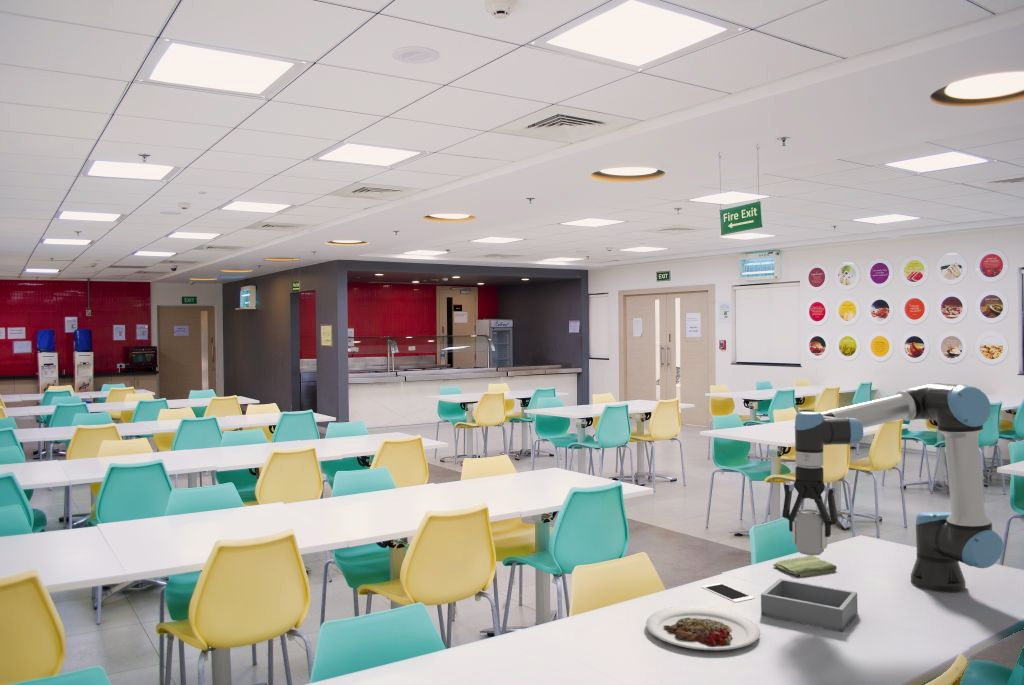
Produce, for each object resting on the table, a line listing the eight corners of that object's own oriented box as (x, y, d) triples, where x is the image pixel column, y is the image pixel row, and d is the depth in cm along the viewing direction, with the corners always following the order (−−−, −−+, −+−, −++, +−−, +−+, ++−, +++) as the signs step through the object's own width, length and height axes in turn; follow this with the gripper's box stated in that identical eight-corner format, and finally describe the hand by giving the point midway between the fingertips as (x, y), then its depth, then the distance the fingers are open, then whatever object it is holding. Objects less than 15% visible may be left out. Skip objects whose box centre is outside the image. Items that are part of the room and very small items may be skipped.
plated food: (684, 605, 224) (684, 593, 224) (780, 631, 203) (780, 619, 203) (624, 633, 203) (624, 621, 203) (723, 667, 182) (723, 653, 182)
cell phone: (735, 603, 225) (735, 601, 225) (700, 588, 240) (700, 586, 240) (755, 599, 228) (755, 597, 228) (719, 584, 243) (719, 582, 243)
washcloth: (771, 568, 259) (771, 559, 259) (812, 562, 265) (812, 553, 265) (797, 579, 247) (796, 569, 247) (840, 573, 252) (839, 563, 252)
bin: (857, 613, 215) (857, 592, 215) (842, 632, 201) (842, 610, 201) (780, 598, 228) (779, 578, 228) (761, 615, 215) (760, 594, 215)
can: (826, 556, 211) (826, 514, 211) (798, 555, 212) (798, 513, 212) (821, 549, 218) (820, 508, 218) (794, 548, 220) (793, 507, 220)
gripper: (769, 464, 218) (770, 542, 218) (843, 471, 206) (844, 554, 206) (777, 461, 224) (778, 537, 224) (850, 467, 212) (850, 548, 212)
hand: (809, 545), depth 215 cm, fingers closed on can, 7 cm apart
